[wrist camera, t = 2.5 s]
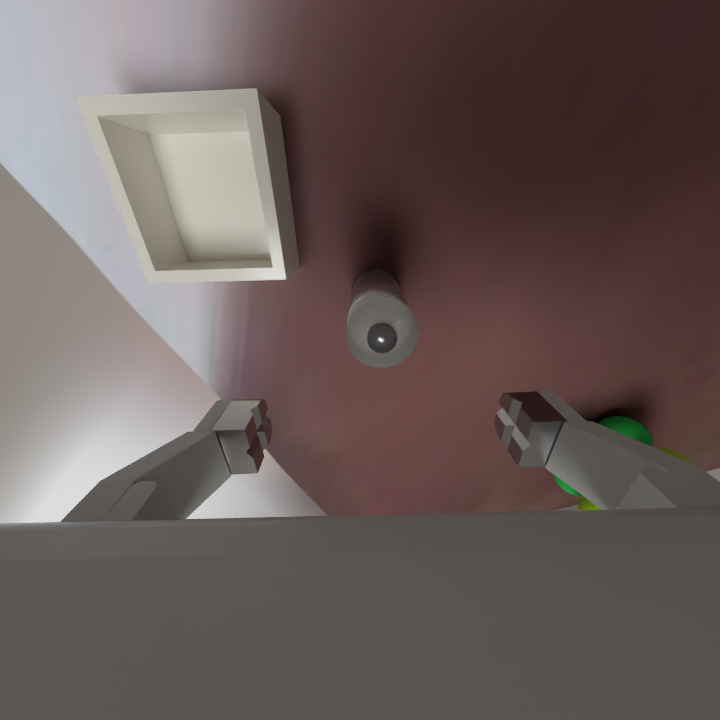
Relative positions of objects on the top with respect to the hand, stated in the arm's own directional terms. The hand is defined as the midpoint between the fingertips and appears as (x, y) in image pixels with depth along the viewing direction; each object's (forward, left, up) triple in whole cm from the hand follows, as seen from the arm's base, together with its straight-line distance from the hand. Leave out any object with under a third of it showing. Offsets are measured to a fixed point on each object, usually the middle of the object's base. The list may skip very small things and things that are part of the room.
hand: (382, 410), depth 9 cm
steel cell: (0, 0, -16) cm, 16 cm away
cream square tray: (+11, -7, -16) cm, 20 cm away
